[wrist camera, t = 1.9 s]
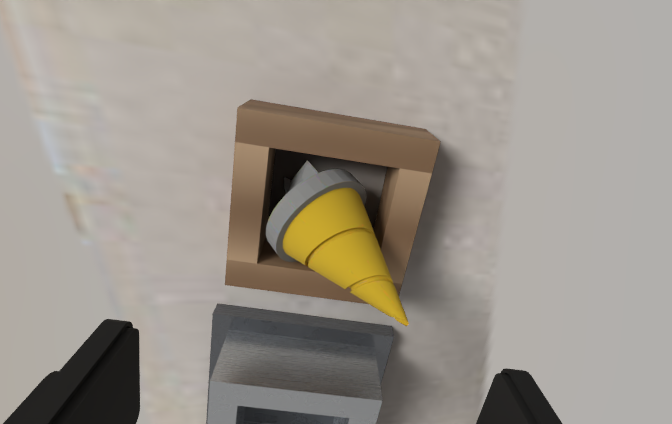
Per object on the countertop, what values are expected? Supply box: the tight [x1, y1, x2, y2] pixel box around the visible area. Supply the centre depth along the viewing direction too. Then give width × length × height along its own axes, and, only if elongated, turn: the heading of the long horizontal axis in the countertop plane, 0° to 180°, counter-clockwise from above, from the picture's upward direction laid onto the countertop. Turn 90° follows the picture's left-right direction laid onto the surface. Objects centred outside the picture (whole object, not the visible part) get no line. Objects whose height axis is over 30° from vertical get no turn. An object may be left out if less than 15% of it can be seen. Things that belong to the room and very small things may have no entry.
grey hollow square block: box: [206, 304, 394, 424], centre depth 24 cm, size 11×11×5 cm
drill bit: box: [266, 161, 409, 326], centre depth 19 cm, size 5×5×10 cm
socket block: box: [225, 100, 440, 304], centre depth 20 cm, size 9×9×3 cm
